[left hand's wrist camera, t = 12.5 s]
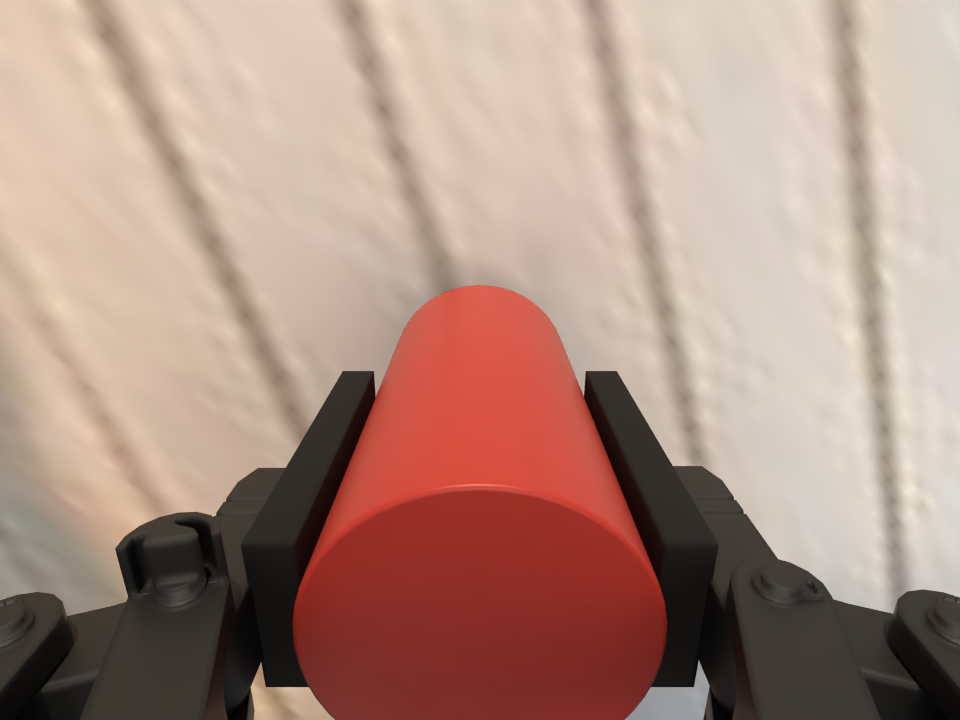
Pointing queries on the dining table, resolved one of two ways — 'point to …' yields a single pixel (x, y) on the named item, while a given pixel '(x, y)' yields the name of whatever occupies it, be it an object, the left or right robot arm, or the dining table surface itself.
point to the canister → (479, 539)
